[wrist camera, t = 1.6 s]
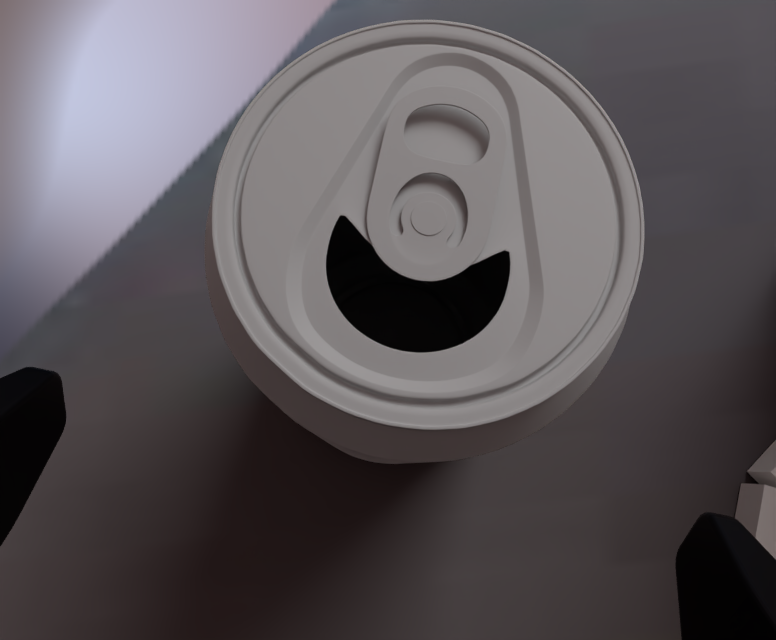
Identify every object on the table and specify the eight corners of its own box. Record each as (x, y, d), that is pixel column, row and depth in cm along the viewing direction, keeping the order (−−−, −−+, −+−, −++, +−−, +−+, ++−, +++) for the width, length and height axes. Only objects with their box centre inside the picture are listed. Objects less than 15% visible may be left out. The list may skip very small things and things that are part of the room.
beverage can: (263, 438, 20) (113, 402, 8) (314, 235, 21) (250, -54, 9) (475, 484, 20) (643, 518, 8) (512, 278, 21) (703, 42, 9)
